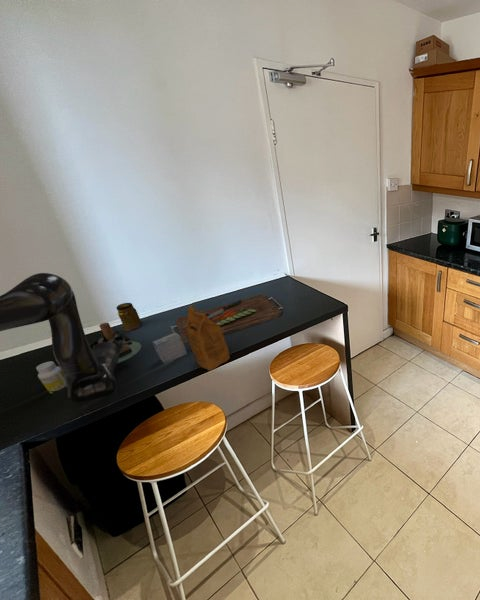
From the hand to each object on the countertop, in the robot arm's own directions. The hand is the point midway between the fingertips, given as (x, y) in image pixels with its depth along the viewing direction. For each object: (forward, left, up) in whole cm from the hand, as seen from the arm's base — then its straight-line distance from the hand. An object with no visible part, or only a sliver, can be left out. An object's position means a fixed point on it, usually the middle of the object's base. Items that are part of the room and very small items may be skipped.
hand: (112, 334), depth 117 cm
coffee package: (+14, -35, -9) cm, 39 cm away
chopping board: (+38, -12, -9) cm, 41 cm away
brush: (-1, -3, -8) cm, 9 cm away
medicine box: (+8, -20, -9) cm, 24 cm away
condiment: (+12, +16, -9) cm, 22 cm away
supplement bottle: (-19, -4, -9) cm, 22 cm away
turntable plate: (-2, +1, -9) cm, 9 cm away
